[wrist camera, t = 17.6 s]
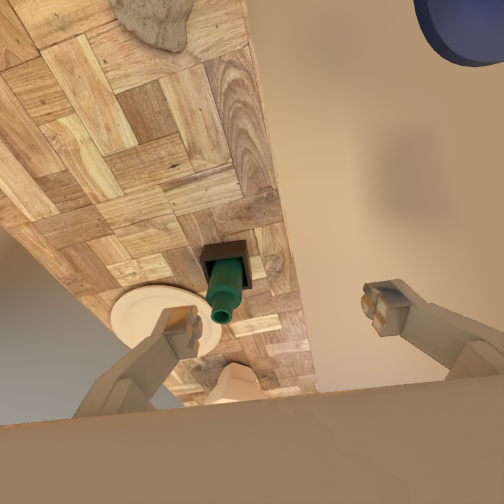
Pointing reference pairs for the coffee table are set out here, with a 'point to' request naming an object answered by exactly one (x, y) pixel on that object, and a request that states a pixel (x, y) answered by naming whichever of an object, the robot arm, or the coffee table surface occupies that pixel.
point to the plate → (149, 309)
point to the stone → (155, 21)
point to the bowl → (235, 386)
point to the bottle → (225, 289)
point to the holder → (224, 252)
